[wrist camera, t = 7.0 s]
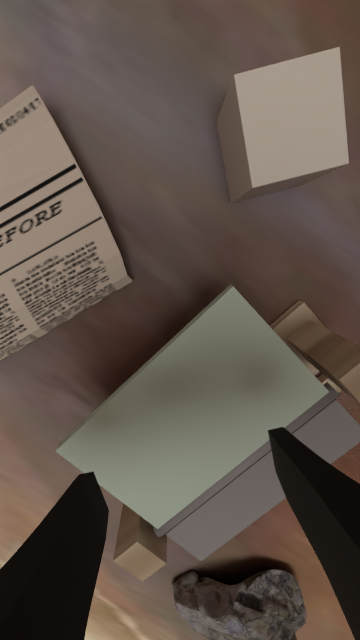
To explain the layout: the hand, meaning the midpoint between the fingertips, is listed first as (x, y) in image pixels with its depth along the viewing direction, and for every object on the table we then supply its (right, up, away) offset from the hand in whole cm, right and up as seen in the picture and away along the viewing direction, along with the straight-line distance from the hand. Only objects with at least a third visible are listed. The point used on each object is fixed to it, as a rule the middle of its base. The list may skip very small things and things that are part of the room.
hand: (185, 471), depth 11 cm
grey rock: (+5, -20, +17) cm, 26 cm away
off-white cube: (+5, +17, +7) cm, 19 cm away
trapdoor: (+2, 0, +8) cm, 9 cm away
